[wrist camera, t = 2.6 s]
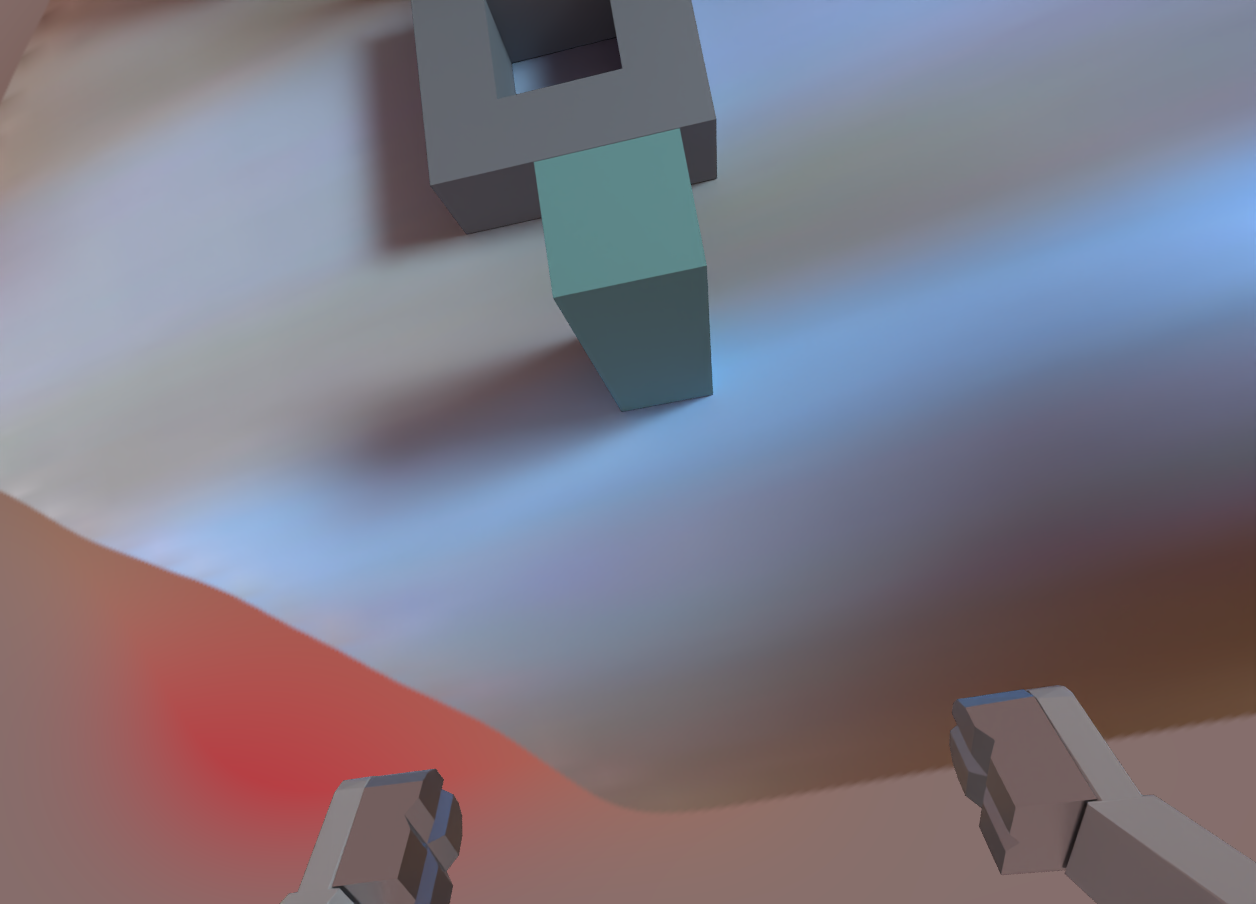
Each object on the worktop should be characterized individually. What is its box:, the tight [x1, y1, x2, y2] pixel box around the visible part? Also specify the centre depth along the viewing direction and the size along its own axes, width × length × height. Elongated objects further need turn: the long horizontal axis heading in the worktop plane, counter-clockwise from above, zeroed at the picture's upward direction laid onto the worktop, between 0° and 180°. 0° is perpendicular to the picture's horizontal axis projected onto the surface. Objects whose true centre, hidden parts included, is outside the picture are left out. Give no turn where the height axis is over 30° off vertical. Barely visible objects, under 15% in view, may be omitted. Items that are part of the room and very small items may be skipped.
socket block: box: [411, 0, 717, 234], centre depth 30 cm, size 12×12×4 cm
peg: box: [534, 128, 713, 412], centre depth 23 cm, size 4×4×12 cm
